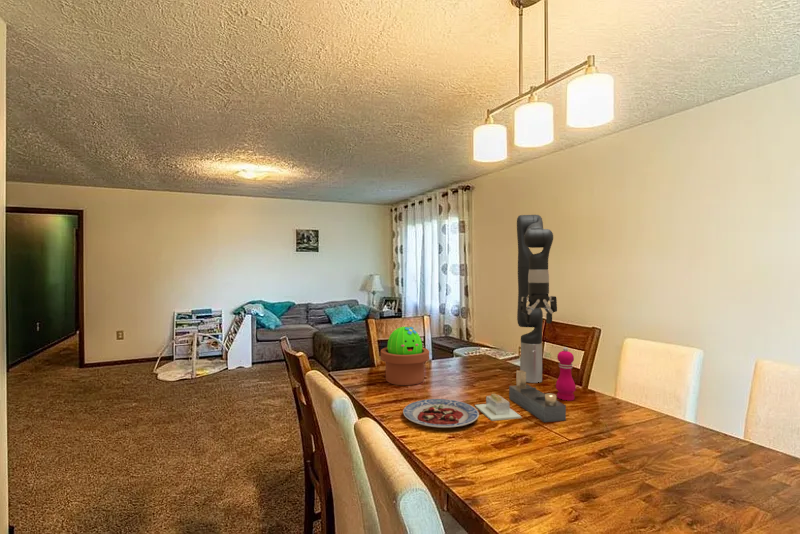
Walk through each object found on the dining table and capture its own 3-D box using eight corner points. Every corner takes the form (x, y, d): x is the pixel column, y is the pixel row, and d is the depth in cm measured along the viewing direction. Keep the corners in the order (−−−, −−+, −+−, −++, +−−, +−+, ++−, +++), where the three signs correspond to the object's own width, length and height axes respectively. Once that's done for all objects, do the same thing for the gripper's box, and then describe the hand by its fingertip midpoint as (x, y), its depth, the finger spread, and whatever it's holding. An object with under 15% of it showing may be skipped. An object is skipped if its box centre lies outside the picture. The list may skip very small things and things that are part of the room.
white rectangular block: (486, 407, 143) (486, 393, 143) (498, 405, 144) (498, 392, 144) (496, 415, 135) (496, 401, 136) (509, 413, 137) (509, 399, 137)
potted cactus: (375, 375, 187) (375, 323, 187) (419, 372, 194) (419, 321, 194) (388, 389, 166) (388, 330, 166) (436, 384, 173) (436, 327, 173)
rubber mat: (474, 406, 146) (474, 404, 146) (502, 404, 148) (502, 402, 148) (491, 420, 132) (491, 419, 132) (521, 418, 134) (521, 416, 134)
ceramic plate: (478, 436, 120) (478, 426, 120) (396, 429, 125) (396, 420, 125) (478, 407, 146) (478, 399, 146) (410, 402, 151) (410, 394, 151)
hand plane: (509, 398, 154) (509, 370, 154) (527, 397, 156) (527, 369, 156) (544, 422, 131) (544, 389, 131) (565, 420, 132) (565, 387, 132)
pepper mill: (572, 395, 158) (572, 345, 158) (578, 401, 151) (578, 349, 151) (553, 394, 159) (553, 345, 159) (558, 400, 152) (558, 348, 152)
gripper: (549, 280, 156) (549, 321, 156) (516, 281, 153) (516, 322, 153) (561, 281, 149) (561, 324, 149) (526, 282, 146) (526, 325, 146)
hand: (538, 323), depth 151 cm, fingers open, 8 cm apart
